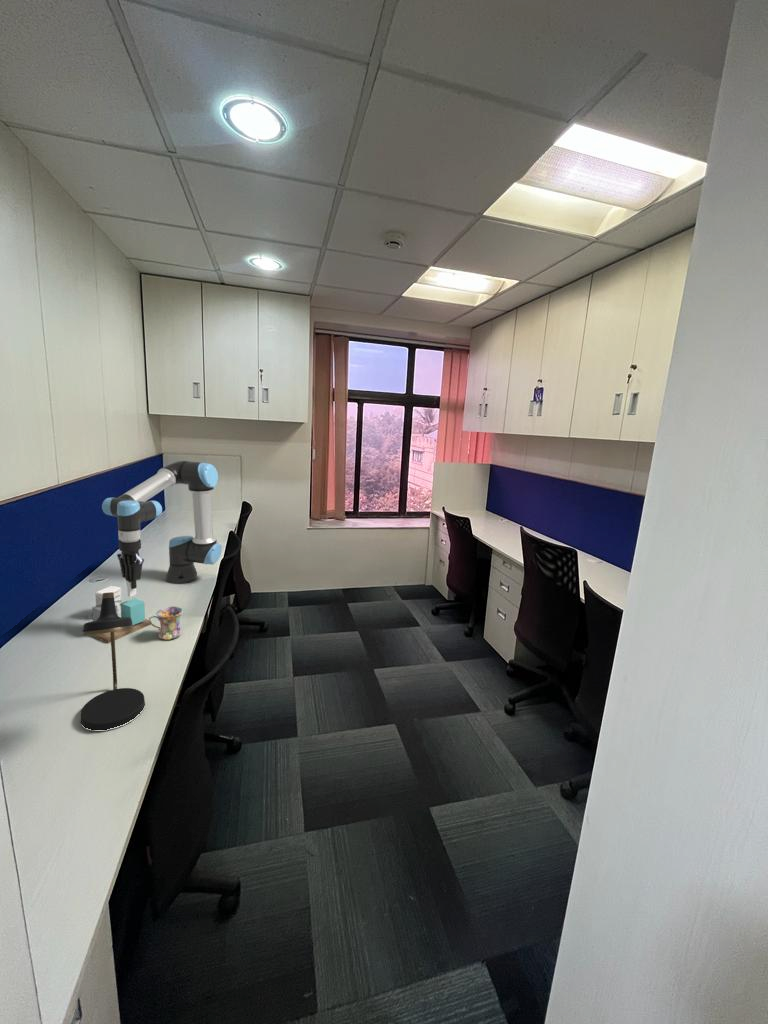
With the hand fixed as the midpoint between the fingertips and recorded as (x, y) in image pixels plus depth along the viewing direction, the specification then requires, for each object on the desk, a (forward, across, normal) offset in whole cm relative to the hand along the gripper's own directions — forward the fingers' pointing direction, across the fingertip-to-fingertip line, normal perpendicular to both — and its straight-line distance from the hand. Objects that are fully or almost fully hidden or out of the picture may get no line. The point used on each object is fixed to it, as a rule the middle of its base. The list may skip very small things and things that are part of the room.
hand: (132, 595), depth 167 cm
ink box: (+14, -17, +1) cm, 22 cm away
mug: (+14, +17, +2) cm, 22 cm away
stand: (+14, -2, -4) cm, 15 cm away
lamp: (+14, +40, -34) cm, 54 cm away
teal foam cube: (+12, 0, 0) cm, 12 cm away
